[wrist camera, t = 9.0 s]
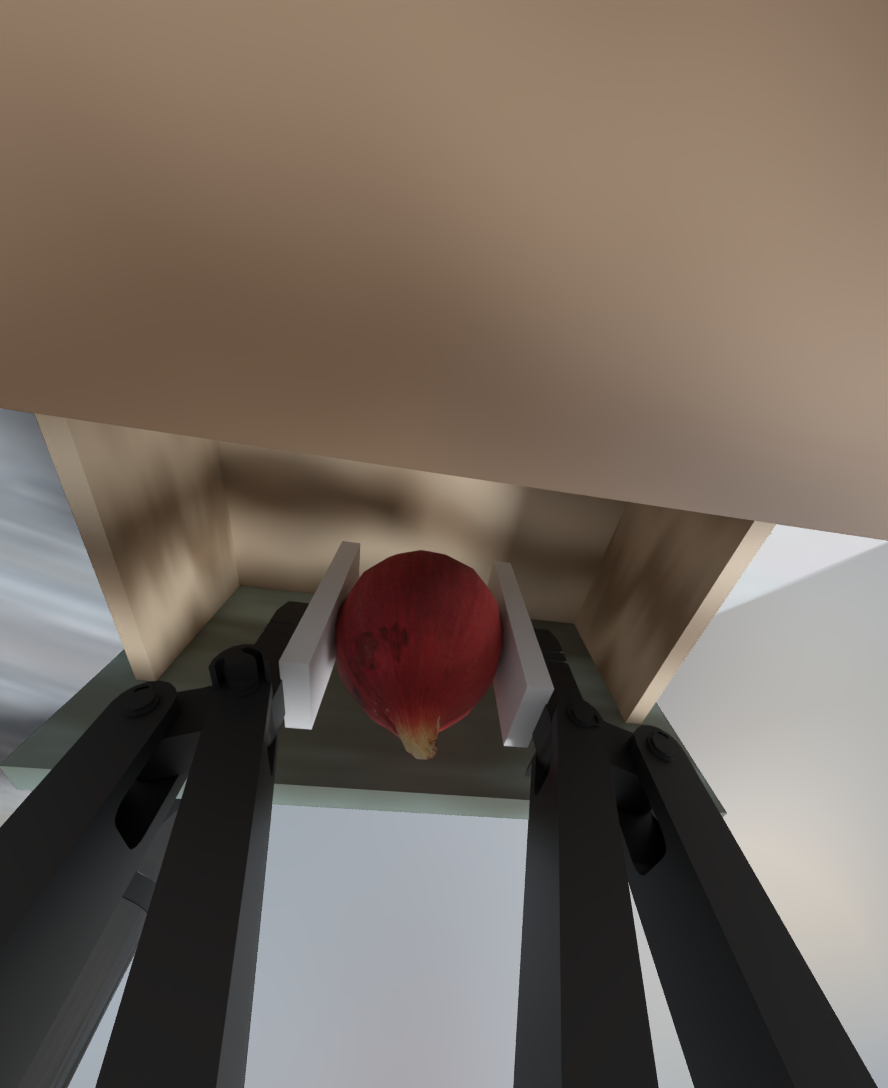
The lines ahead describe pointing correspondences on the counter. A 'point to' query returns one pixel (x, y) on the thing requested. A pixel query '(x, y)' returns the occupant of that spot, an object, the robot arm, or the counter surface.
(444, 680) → the onion
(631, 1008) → the robot arm
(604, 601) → the drawer
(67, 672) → the counter surface
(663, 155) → the cabinet
